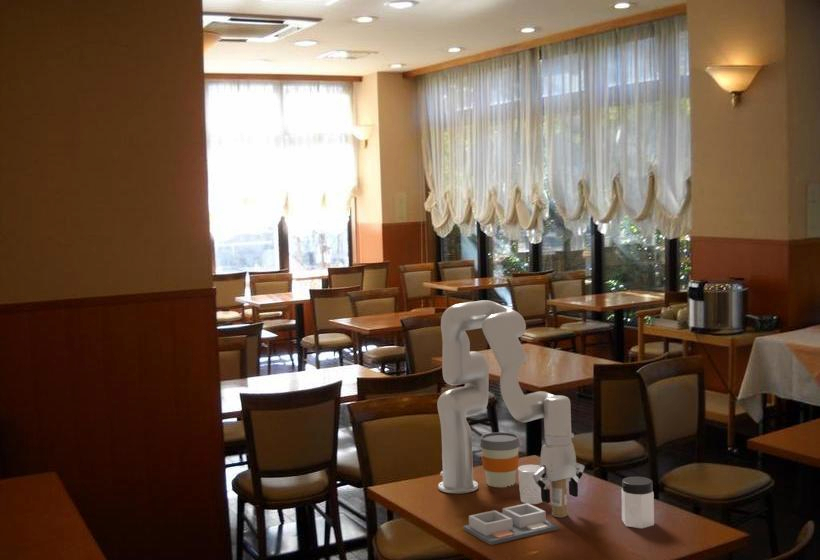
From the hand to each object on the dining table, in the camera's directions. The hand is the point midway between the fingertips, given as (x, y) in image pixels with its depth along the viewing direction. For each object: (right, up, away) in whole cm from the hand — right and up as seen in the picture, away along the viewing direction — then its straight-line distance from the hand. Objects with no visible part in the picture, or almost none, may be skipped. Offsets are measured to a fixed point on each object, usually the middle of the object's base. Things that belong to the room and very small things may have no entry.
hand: (559, 498), depth 267 cm
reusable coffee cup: (-14, -3, +33) cm, 36 cm away
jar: (+20, -5, -8) cm, 22 cm away
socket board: (-15, -6, -10) cm, 19 cm away
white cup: (-6, -4, +14) cm, 16 cm away
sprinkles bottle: (0, -5, +1) cm, 5 cm away
